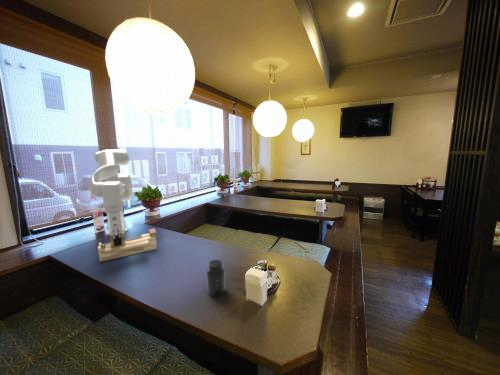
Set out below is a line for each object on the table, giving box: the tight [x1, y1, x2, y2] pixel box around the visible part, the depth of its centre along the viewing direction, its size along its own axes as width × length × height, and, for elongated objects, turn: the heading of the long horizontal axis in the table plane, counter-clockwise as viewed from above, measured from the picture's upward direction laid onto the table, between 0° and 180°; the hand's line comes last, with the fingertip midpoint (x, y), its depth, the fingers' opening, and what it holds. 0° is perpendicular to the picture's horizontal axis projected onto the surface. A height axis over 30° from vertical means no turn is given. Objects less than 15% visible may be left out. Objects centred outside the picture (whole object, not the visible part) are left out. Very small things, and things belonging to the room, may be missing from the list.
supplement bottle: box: [206, 259, 226, 297], centre depth 79 cm, size 7×7×12 cm
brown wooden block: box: [148, 228, 157, 237], centre depth 120 cm, size 7×3×2 cm, turn 32°
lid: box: [105, 232, 149, 254], centre depth 103 cm, size 9×19×7 cm, turn 122°
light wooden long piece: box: [97, 233, 158, 263], centre depth 114 cm, size 9×27×7 cm, turn 122°
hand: (118, 243), depth 101 cm, fingers closed on lid, 3 cm apart
